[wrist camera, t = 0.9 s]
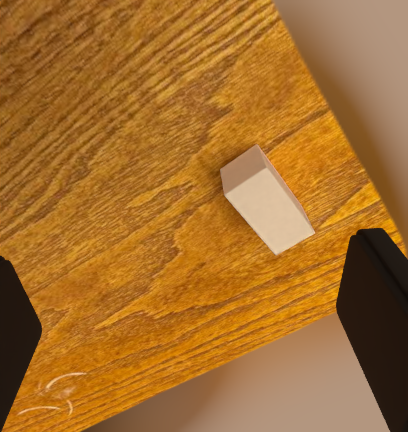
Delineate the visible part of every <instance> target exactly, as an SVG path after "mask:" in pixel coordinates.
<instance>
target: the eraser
mask: <svg viewBox="0 0 408 432" xmlns="http://www.w3.org/2000/svg"><path fill="white" fill-rule="evenodd" d="M220 173H221V179H222V185H223V191H224V196H225V197H226V198H227V199H228V200H229V202H230V203H231V204H232V205H233V206H234V207H235V209H236V210H237V211H238V212H239V213H240V215H241V216H242V217H243V218H244V219H245V220H246V222H247V223H248V224H249V225H250V226H251V227H252V229H253V230H254V231H255V232H256V233H257V234H258V236H259V237H260V238H261V239H262V240H263V241H264V243H265V244H266V245H267V246H268V247H269V248H270V250H271V251H272V252H273V253H274V254H275V255H278V254H279V253H281V252H283V251H285V250H286V249H288V248H290V247H292V246H294V245H295V244H297V243H299V242H301V241H302V240H304V239H306V238H308V237H309V236H311V235H313V234H315V231H314V229H313V227H312V225H311V223H310V221H309V219H308V217H307V215H306V213H305V211H304V209H303V207H302V205H301V204H300V202H299V201H298V200H297V198H296V197H295V195H294V194H293V193H292V191H291V190H290V189H289V187H288V186H287V184H286V183H285V182H284V180H283V179H282V177H281V176H280V175H279V173H278V172H277V170H276V169H275V168H274V166H273V165H272V164H271V162H270V161H269V159H268V158H267V157H266V155H265V154H264V152H263V151H262V150H261V148H260V147H259V145H258V144H256V145H254V146H253V147H251V148H250V149H249V150H247V151H246V152H244V153H243V154H241V155H240V156H239V157H237V158H236V159H234V160H233V161H231V162H230V163H228V164H227V165H226V166H224V167H223V168H221V169H220Z"/></svg>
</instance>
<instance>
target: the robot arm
mask: <svg viewBox="0 0 408 432" xmlns="http://www.w3.org/2000/svg"><path fill="white" fill-rule="evenodd" d="M336 309H337V314H338V316H339V318H340V321H341V323H342V325H343V328H344V330H345V332H346V334H347V337H348V339H349V341H350V343H351V345H352V347H353V350H354V352H355V354H356V356H357V359H358V361H359V363H360V366H361V368H362V370H363V372H364V374H365V377H366V379H367V381H368V383H369V386H370V388H371V390H372V392H373V394H374V397H375V399H376V401H377V403H378V405H379V408H380V410H381V412H382V415H383V417H384V419H385V420H386V423H387V425H388V428H389V430H390V432H408V259H407V258H406V257H405V256H404V254H403V253H402V252H401V251H400V249H399V248H398V247H397V245H396V244H395V243H394V242H393V240H392V239H391V238H390V237H389V235H388V234H387V233H386V232H385V230H383V229H382V228H371V229H360V230H358V231H357V233H356V235H352V236H351V237H350V241H349V245H348V250H347V255H346V259H345V264H344V269H343V273H342V278H341V283H340V288H339V292H338V297H337V302H336ZM41 334H42V326H41V323H40V321H39V319H38V317H37V315H36V312H35V310H34V308H33V306H32V304H31V302H30V300H29V298H28V296H27V294H26V292H25V290H24V288H23V286H22V284H21V282H20V280H19V278H18V276H17V274H16V272H15V269H14V267H13V265H12V264H11V262H10V261H9V260H5V259H4V257H2V256H0V432H1V431H2V428H3V426H4V424H5V421H6V419H7V416H8V414H9V412H10V409H11V407H12V404H13V402H14V400H15V397H16V395H17V392H18V390H19V388H20V385H21V383H22V381H23V378H24V376H25V373H26V371H27V369H28V366H29V364H30V361H31V359H32V357H33V354H34V352H35V349H36V347H37V345H38V342H39V340H40V337H41Z"/></svg>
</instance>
